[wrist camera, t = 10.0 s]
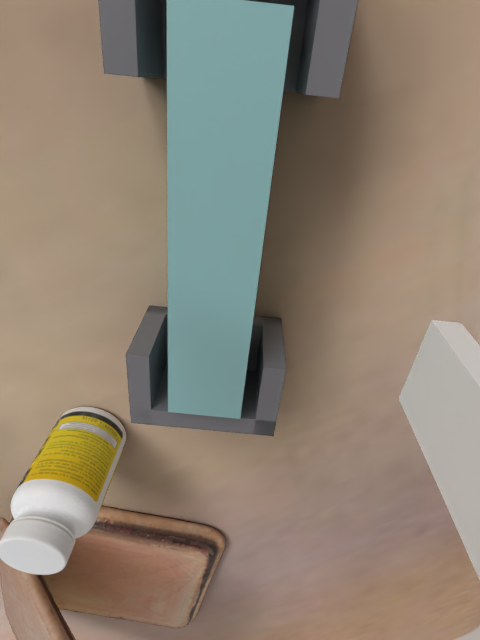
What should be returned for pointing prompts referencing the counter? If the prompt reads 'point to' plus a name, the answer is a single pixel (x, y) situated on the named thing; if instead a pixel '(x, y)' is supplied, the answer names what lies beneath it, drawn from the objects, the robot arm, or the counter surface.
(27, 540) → the supplement bottle
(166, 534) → the case
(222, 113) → the teal rectangular bar
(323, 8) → the end cap near
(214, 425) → the end cap far
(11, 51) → the counter surface
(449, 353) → the robot arm
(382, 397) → the counter surface
